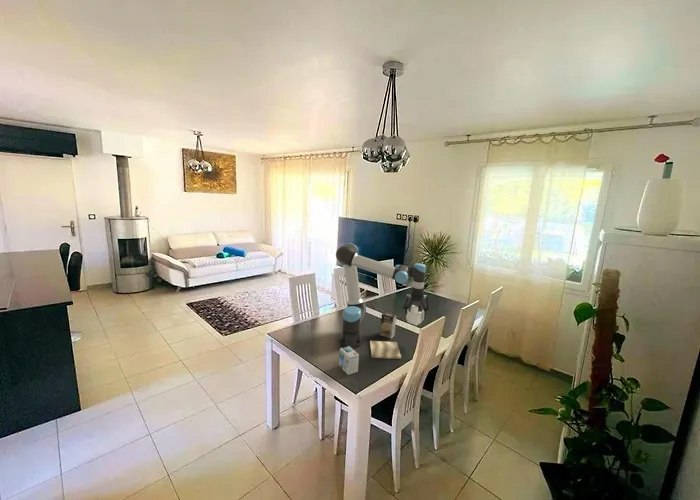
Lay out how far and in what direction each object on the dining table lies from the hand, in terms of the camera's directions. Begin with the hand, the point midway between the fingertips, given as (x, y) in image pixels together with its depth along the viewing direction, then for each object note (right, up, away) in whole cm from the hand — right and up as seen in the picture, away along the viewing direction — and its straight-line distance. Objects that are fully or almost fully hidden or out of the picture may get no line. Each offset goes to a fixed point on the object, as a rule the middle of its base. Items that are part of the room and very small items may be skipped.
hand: (414, 319), depth 198 cm
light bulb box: (-44, -21, -29) cm, 57 cm away
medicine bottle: (0, -2, 0) cm, 2 cm away
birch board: (-21, -18, -8) cm, 29 cm away
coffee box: (-17, -15, +13) cm, 26 cm away
